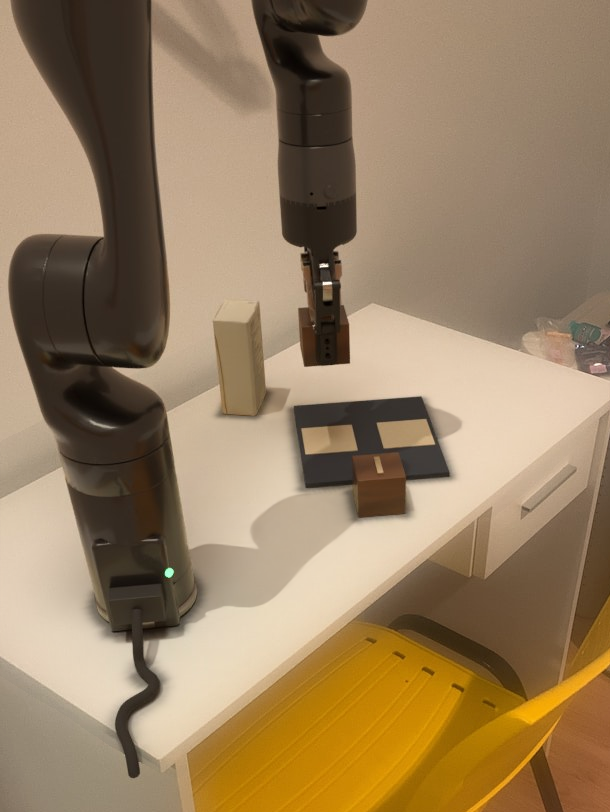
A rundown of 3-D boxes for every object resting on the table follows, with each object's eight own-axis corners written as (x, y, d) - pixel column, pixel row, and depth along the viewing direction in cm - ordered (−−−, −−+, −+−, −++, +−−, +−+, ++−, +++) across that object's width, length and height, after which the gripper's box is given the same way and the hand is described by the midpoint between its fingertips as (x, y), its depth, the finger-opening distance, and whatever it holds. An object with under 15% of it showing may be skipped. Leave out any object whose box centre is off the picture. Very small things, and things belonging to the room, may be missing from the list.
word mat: (449, 476, 106) (449, 471, 106) (305, 488, 105) (305, 482, 105) (421, 400, 120) (421, 395, 119) (293, 409, 118) (293, 404, 118)
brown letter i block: (405, 513, 101) (406, 475, 98) (358, 517, 101) (357, 479, 98) (398, 488, 105) (398, 450, 102) (352, 491, 104) (351, 454, 101)
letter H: (350, 363, 103) (349, 321, 100) (304, 367, 103) (301, 325, 100) (344, 344, 107) (343, 302, 104) (300, 347, 107) (297, 305, 103)
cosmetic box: (234, 391, 122) (224, 297, 114) (268, 393, 122) (260, 299, 114) (221, 415, 118) (210, 319, 110) (257, 417, 117) (248, 321, 109)
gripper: (274, 168, 98) (285, 327, 110) (284, 214, 88) (295, 385, 99) (347, 164, 99) (350, 323, 110) (365, 209, 88) (367, 380, 100)
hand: (324, 352), depth 105 cm, fingers closed on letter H, 5 cm apart
